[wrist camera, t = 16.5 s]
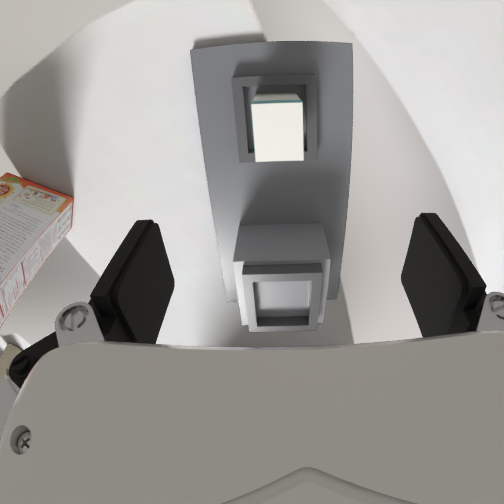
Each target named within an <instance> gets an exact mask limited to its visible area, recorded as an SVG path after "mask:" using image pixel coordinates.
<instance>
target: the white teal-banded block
mask: <svg viewBox="0 0 504 504" xmlns="http://www.w3.org/2000/svg"><path fill="white" fill-rule="evenodd" d="M251 112H252V125H253V137H254V150H255V162H267V161H304V131H303V101H302V100H300V98H299V97H298V95H297V94H296V92H294V93H263V94H255V96H254V99H253V101H252V102H251Z"/></svg>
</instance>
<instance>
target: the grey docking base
mask: <svg viewBox="0 0 504 504" xmlns="http://www.w3.org/2000/svg"><path fill="white" fill-rule="evenodd" d="M352 51H353V50H352V43H339V42H318V41H276V42H255V43H242V44H231V45H221V46H213V47H206V48H199V49H192V50H190V55H191V64H192V72H193V80H194V88H195V96H196V104H197V112H198V119H199V127H200V134H201V141H202V148H203V155H204V162H205V169H206V176H207V182H208V189H209V195H210V202H211V208H212V215H213V221H214V227H215V233H216V239H217V245H218V251H219V257H220V263H221V268H222V274H223V280H224V285H225V291H226V296H227V302H239V308H240V314H241V321H242V325H248V327H249V332H281V331H313V330H317V323H323V321H324V313H325V306H326V300H330V299H336V298H337V292H338V285H339V278H340V271H341V262H342V255H343V246H344V237H345V229H346V219H347V208H348V197H349V184H350V169H351V151H352V126H353V52H352ZM294 92H296V94H297V95H298V97H299V98H300V100H302V101H303V131H304V161H267V162H255V150H254V137H253V125H252V112H251V102H252V101H253V99H254V96H255V94H263V93H294Z"/></svg>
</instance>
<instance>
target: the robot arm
mask: <svg viewBox="0 0 504 504" xmlns="http://www.w3.org/2000/svg"><path fill="white" fill-rule="evenodd" d="M401 281H402V285H403V287H404V289H405V292H406V294H407V297H408V299H409V302H410V304H411V307H412V309H413V312H414V315H415V317H416V320H417V323H418V325H419V328H420V331H421V334H422V336H423V338H416V339H406V340H397V341H386V342H375V343H361V344H346V345H328V346H303V347H206V346H182V345H163V344H156V340H157V337H158V334H159V331H160V328H161V325H162V322H163V319H164V316H165V313H166V310H167V307H168V304H169V301H170V298H171V296H172V293H173V290H174V277H173V274H172V271H171V267H170V264H169V260H168V257H167V254H166V250H165V247H164V243H163V239H162V236H161V232H160V228H159V225H158V224H157V223H154V222H153V220H138V221H136V222H135V224H134V225H133V227H132V228H131V230H130V231H129V233H128V234H127V236H126V237H125V239H124V240H123V242H122V244H121V245H120V247H119V248H118V250H117V251H116V253H115V255H114V256H113V258H112V259H111V261H110V263H109V264H108V266H107V268H106V269H105V271H104V272H103V274H102V276H101V277H100V279H99V281H98V283H97V284H96V286H95V288H94V289H93V291H92V293H91V295H90V297H91V300H90V301H89V303H85V302H75V303H73V304H70V305H68V306H67V307H65V308H64V309H63V310H62V311H61V312H60V313H59V314H58V316H57V318H56V321H55V330H56V331H55V332H53V333H52V334H50V335H49V336H47V337H45V338H43V339H42V340H40V341H38V342H37V343H35V344H33V345H31V346H30V347H28V348H26V349H25V350H23V351H21V352H20V353H19V354H17V355H16V356H15V358H14V359H13V360H12V362H11V364H10V367H9V377H8V378H7V377H6V376H5V375H4V376H3V377H2V378H1V379H0V504H504V294H503V293H500V292H491V293H489V294H488V295H487V294H486V292H485V289H486V284H485V282H484V281H483V279H482V278H481V276H480V274H479V273H478V271H477V270H476V268H475V267H474V265H473V264H472V262H471V261H470V260H469V258H468V256H467V255H466V253H465V252H464V250H463V249H462V248H461V246H460V245H459V243H458V242H457V241H456V239H455V238H454V236H453V235H452V234H451V232H450V231H449V230H448V228H447V227H446V226H445V224H444V223H443V222H442V220H441V219H440V218H439V217H438V215H437V214H435V213H421V214H420V215H419V217H416V219H415V222H414V227H413V231H412V236H411V240H410V244H409V248H408V252H407V256H406V259H405V263H404V266H403V271H402V274H401Z"/></svg>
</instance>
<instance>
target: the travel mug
mask: <svg viewBox="0 0 504 504" xmlns="http://www.w3.org/2000/svg"><path fill="white" fill-rule="evenodd" d="M21 351H22V350H21V349H20V348H18V347H17V346H15V345H13V344H7V346H6V348H5V350H4V351H3V353H2V355H1V357H0V379H1V378H2V377H3V376H4V375H5V376H6V377H7V378H8V377H9V367H10V364H11V362H12V360H13V359H14V358H15V356H16V355H17V354H19V353H20V352H21Z"/></svg>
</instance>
